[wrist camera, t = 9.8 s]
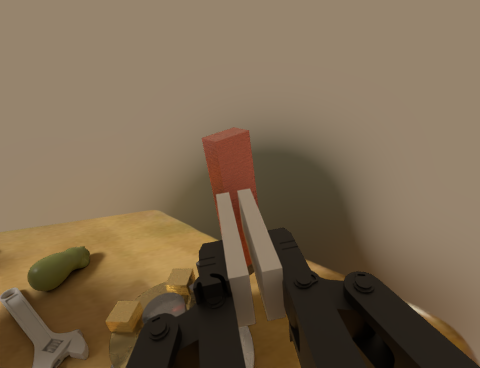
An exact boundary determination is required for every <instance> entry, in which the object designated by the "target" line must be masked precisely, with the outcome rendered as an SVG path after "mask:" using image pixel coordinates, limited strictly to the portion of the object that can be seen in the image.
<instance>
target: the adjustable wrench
mask: <svg viewBox="0 0 480 368" xmlns="http://www.w3.org/2000/svg"><path fill="white" fill-rule="evenodd" d="M12 294H13V295H12ZM10 295H12V296H10ZM9 296H10V297H9ZM7 297H8V298H7ZM0 301H1V302H2V303H3V305H4V306H5V307H6V309H7V310H8V311H9V312H10V314H11V315H12V316H13V318H14V319H15V320H16V322H17V323H18V324H19V325H20V327H21V328H22V329H23V331H24V332H25V333H26V334H27V336H28V337H29V338H30V340H31V341H32V342H33V344H34V347H35V353H34V362H33V366H32V368H57V367H58V366H59V365H60V364H61V362H62V361H63V360H64V358H65V357H67V356H68V355H70V356H71V357H73V358H78V359H84V360H86V359H87V357H88V354H89V349H88V345H87V343H86V341H85V340H84V338H83V337H82V335H83V334H82V332H81V331H80V329H76V330H74V331H72V332H68V333H54V332H52V331H51V330H50V329H49V328H48V327H47V326H46V324H45V323H44V322H43V320H42V319H41V318H40V317H39V315H38V314H37V313H36V311H35V310H34V309H33V308H32V306H31V305H30V304H29V302H28V301H27V300H26V299H25V297H24V296H23V295H22V293H21V292H20V291H19V290H18V288H11V289H9V290H7V291H5V292H4V293H3V294H1V296H0Z"/></svg>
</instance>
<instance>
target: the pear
mask: <svg viewBox="0 0 480 368" xmlns="http://www.w3.org/2000/svg"><path fill="white" fill-rule="evenodd" d="M89 255H90V253H89V251H88V250H87V249H86V248H85V246H84V247H73V248H69V249H67V250H66V251H64V252H61V253H56V254H53V255H50V256H47V257H45V258H43V259H41V260H39V261H38V262H36V263H35V264H34V265H33V266H32V267H31V268H30V270H29V272H28V282H29V284H30V286H31V287H32V288H34V289H35V290H38V291H49V290H52V289H54V288H56V287H57V286H59V285H60V284H61V283H62V282H63V281H64V280H65V279H66V278H67V276H68V275H69V274H70V272H71V271H73V270H74V269H78V268H83V267H85V266H87V265H88V264H89V263H90V259H89Z"/></svg>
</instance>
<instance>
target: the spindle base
mask: <svg viewBox="0 0 480 368" xmlns="http://www.w3.org/2000/svg"><path fill="white" fill-rule="evenodd" d="M196 265H197V269H198V273H199V261H198V262H197V263H196ZM186 311H187V308H186V304H185V301H184V299H183V297H182V296H181V295H179V294H177V293H173V292H170V293H164V294H161V295H159V296H157V297H155V298H154V299H152V300H151V301H150V302H149V303H148V304H147V306H146V307H145V309H144V311H143V314H142V320H143V323H144V324H145V323H146V322H147V321H148V320H149V319H151V318H152V317H154V316H156V315H158V314H163V313H168V314H172V315H173V316H175V317H177V316H178V315H180V314H182V313H184V312H186ZM239 334H240V339H241V344H242V349H243V355H244V360H245V365H246V368H254V367H255V353H254V346H253V341H252V336H251V333H250V330H249V328H248V326H243V327H239ZM111 368H114V367H113V364H112V365H111Z"/></svg>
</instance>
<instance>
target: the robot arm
mask: <svg viewBox="0 0 480 368" xmlns="http://www.w3.org/2000/svg"><path fill="white" fill-rule="evenodd" d="M237 193H238V200H239V207H240V214H241V221H242V227H243V232H244V235H245V239H246V243H247V246H248V250H249V254H250V257H251V261H252V265H253V268H254V272H255V276H256V279H257V283H258V287H259V290H260V294H261V298H262V301H263V305H264V309H265V312H266V316H267V320H268V321H270V320H275V319H279V318H284V317H286V314H287V316H288V319H289V332H290V342H291V341H293V342H294V345H295V349H296V352H297V355H298V358H299V361H300V365H301V368H480V367H479V366H478V365H477V364H476V363H475V362H474V361H472V360H471V359H470V358H469V357H468V356H467V355H465V354H464V353H463V352H462V351H461V350H460V349H459V348H457V347H456V346H455V345H454V344H453V343H452V342H450V341H449V340H448V339H447V338H446V337H445V336H443V335H442V334H441V333H440V332H439V331H438V330H437V329H435V328H434V327H433V326H432V325H431V324H430V323H428V322H427V321H426V320H425V319H424V318H423V317H422V316H420V315H419V314H418V313H417V312H416V311H415V310H413V309H412V308H411V307H410V306H409V305H408V304H407V303H405V302H404V301H403V300H402V299H401V298H400V297H398V296H397V295H396V294H395V293H394V292H393V291H391V290H390V289H389V288H388V287H387V286H386V285H384V284H383V283H382V282H381V281H380V280H379V279H377V278H376V277H374V276H373V275H371V274H369V273H366V272H353V273H350V274H348V275H347V276H346V277H345V279H344V281H338V280H327V279H324V278H321V277H319V276H318V274H316V273H315V272H313V271H311V269H310V268H309V266H308V264H307V262H306V260H305V259H304V257H303V255H302V253H301V251H300V249H299V248H298V246H297V244H296V242H295V240H294V238H293V236H292V234H291V233H290V232H289V231H287V230H286V229H285V228H279V229H273V230H268V231H267V229H266V227H265V224H264V222H263V219H262V217H261V214H260V212H259V209H258V207H257V205H256V202H255V200H254V197H253V195H252V192H251V190H250V188H249V189H244V190H238V191H237ZM216 198H217V205H218V212H219V219H220V226H221V232H222V239H223V240H220V241H215V242H210V243H205V244H203V245H202V247H201V249H200V250H199V277H198V278H197V279H196V281H195V282H194V285H193V292H194V295H195V299H196V303H195V305H194V306H193V307H191V308H190V309H189V310H187V311H186V312H184V313H182V314H180V315H178V316H177V317H175V316H173V315H172V314H168V313H163V314H158V315H156V316H154V317H152V318H151V319H149V320H148V321H147V322H146V323H145V324H144V326H143V328H142V329H141V331H140V334H139V336H138V338H137V341H136V343H135V346H134V348H133V351H132V353H131V355H130V358H129V360H128V363H127V365H126V367H125V368H246V365H245V360H244V355H243V349H242V344H241V339H240V334H239V327H243V326H247V325H252V324H256V321H255V314H254V307H253V300H252V293H251V286H250V279H249V273H248V269H247V265H246V261H245V257H244V253H243V249H242V244H241V240H240V236H239V232H238V228H237V224H236V220H235V216H234V212H233V207H232V203H231V199H230V195H229V192H227V193H221V194H216ZM285 311H286V314H285Z"/></svg>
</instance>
